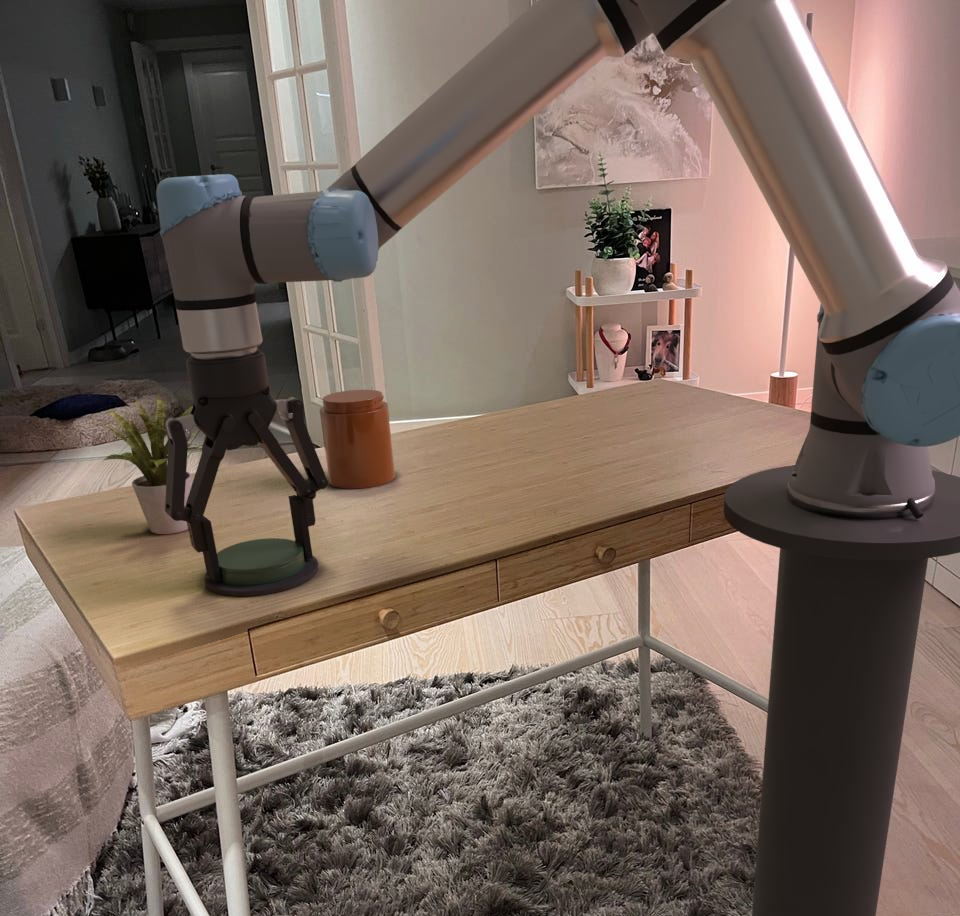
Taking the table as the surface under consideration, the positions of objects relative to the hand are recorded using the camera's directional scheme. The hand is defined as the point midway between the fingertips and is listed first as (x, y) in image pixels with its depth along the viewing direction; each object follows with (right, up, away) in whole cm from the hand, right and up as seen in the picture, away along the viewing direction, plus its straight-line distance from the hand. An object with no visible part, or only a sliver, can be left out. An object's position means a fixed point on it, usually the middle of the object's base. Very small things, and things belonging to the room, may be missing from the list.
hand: (260, 566), depth 104 cm
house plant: (-14, +6, +16) cm, 22 cm away
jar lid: (0, +1, 0) cm, 1 cm away
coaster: (0, -1, 0) cm, 1 cm away
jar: (+7, +15, +31) cm, 35 cm away
